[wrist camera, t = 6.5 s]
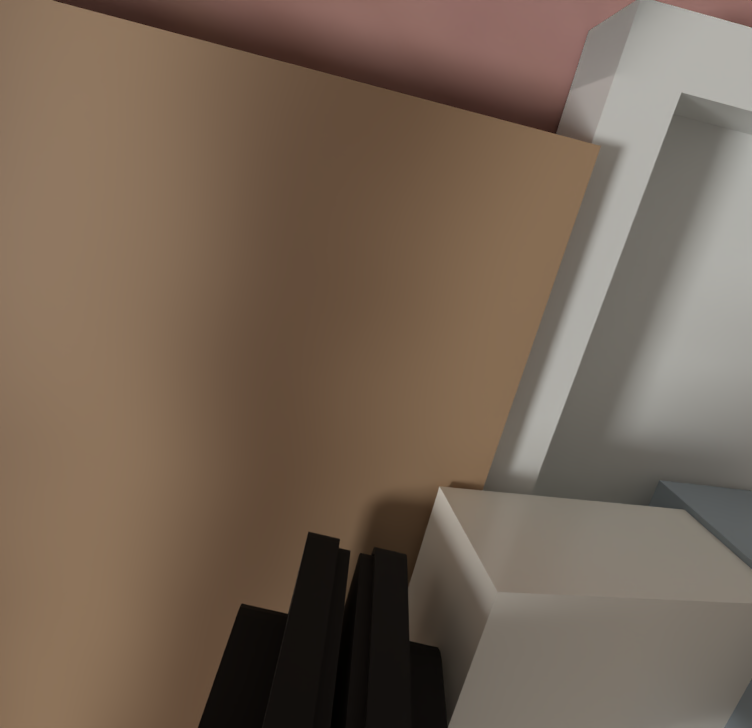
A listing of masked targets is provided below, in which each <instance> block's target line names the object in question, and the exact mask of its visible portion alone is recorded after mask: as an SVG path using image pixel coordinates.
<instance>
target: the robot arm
mask: <svg viewBox="0 0 752 728" xmlns="http://www.w3.org/2000/svg"><path fill="white" fill-rule="evenodd" d="M339 544H340V539H339V538H334V537H330V536H326V535H321V534H317V533H313V532H308V535H307V539H306V543H305V547H304V551H303V555H302V559H301V563H300V567H299V571H298V575H297V579H296V583H295V587H294V591H293V595H292V599H291V603H290V607H289V612H288V614H287V613H282V612H278V611H273V610H269V609H265V608H260V607H256V606H251V605H247V604H241V605H240V608H239V610H238V613H237V616H236V619H235V621H234V624H233V627H232V630H231V633H230V636H229V639H228V642H227V645H226V647H225V650H224V653H223V656H222V659H221V662H220V665H219V668H218V671H217V674H216V676H215V679H214V682H213V685H212V688H211V691H210V694H209V697H208V700H207V702H206V705H205V708H204V711H203V714H202V717H201V720H200V723H199V726H198V728H448V725H447V714H446V702H445V691H444V680H443V669H442V659H441V653H440V650H439V648H438V647H435V646H430V645H426V644H421V643H417V642H412V641H409V605H408V567H407V555H406V554H404V553H399V552H395V551H391V550H386V549H382V548H378V547H374V548H373V551H372V554H371V555H368V554H364V553H360V554H359V557H358V560H357V564H356V567H355V571H354V574H353V578H352V581H351V585H350V588H349V592H348V596H347V599H346V603H345V596H346V587H347V579H348V570H349V561H350V552H351V551H350V550H346V549H342V548H339ZM344 605H345V606H344Z"/></svg>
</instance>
